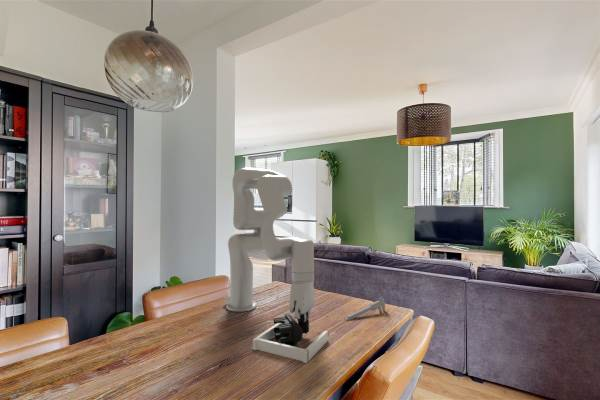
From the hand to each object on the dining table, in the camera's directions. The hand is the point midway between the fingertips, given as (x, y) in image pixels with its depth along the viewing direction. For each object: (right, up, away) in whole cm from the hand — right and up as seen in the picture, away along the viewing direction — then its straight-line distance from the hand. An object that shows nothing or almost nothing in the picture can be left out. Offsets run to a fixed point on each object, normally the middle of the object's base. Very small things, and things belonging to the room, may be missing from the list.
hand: (303, 332), depth 102 cm
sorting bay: (-4, -2, -5) cm, 7 cm away
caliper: (+25, -3, +20) cm, 32 cm away
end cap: (-5, -2, -3) cm, 6 cm away
